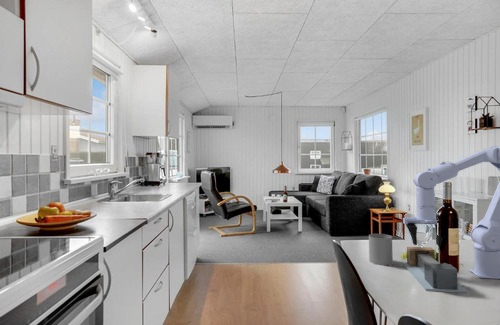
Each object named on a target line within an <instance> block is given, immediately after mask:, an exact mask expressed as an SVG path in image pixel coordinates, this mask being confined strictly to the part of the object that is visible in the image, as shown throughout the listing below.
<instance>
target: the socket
mask: <svg viewBox="0 0 500 325" xmlns="http://www.w3.org/2000/svg"><path fill="white" fill-rule="evenodd" d="M415 252H426V253H427V254H428V255H430V256H431V257H432V258H433V259H435V260H436V257H435V255H436V254H435V249H434V248H433V247H427V246H422V247H421V246H406V263H407V264H408V265H409V266H415Z"/></svg>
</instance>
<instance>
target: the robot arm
mask: <svg viewBox="0 0 500 325" xmlns="http://www.w3.org/2000/svg"><path fill="white" fill-rule="evenodd" d="M481 163H490V164H491V165H492V166H494V167H495V168H496V169H497V170H498V171H499V172H500V145H494V146H493V145H492V146H490V147H489V148H484V149H481V150H478V151H476V152H474V153H472V154H470V155H468V156H466V157H464V158H461V159H459V160H457V161H454V162H451V161H446V162H445V161H441V162H439V164H438V165H436V166H434V167H431V168H430V167H429V168H426V169H425V170H426V171H420V172H418V173H417V174H416V175H415V176H414V178H413V183H414V185H415V188H416V190H415V191H416V192H415V194H416V195H415V196H416V197H415V198H416V199H415V200H416V203H415V204H416V217H415V216H414V217H403V218H402V223H403V224H404V225H406V228H407V229H408V233H409V234H410V236H411V241H412V244H413V245H414V246H417V245H418V240H417V239H418V238H417V237H418V236H417V233H418V232H417V231H418V226H416V225H434V228H435V245H437V246H439V247H440V246H442V241H443V238H442V237H441V235H440V234H439V236H438V235H437V221H438V220H436V218H437V217H436V199H435V198H436V197H435V196H436V193H435V188H436V186H437V185H439V184H441V183H443V182H446V181H448V180H451V179H453V178H456V177H457V176H458V175H459V172H461V171H462V170H463V171H464V170H466V169H468V168H471V167H474V166H475V165H479V164H481ZM498 182H499V183H498V184H497V187H496V188H495V189H496V190H495V192H494V194H493V196H492V198H491V201H490V203H489V205H488V208H487V210H486V212H485V214H484V217H483V218H482V219H481V220H479V221H478V222H477V225H476V226H474V227H473V228H472V229H471V231H470V238H471V241H472V242H474V245H473V266H474V268H469V272H471V273H473V275H475V276H477V277H478V278H479V279H498V280H499V279H500V181H498Z"/></svg>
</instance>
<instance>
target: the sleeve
mask: <svg viewBox="0 0 500 325" xmlns="http://www.w3.org/2000/svg"><path fill="white" fill-rule="evenodd" d="M424 276H425V280H426V281H427V282H428V283H429V284H430V285H431V286H432V287H433V288H434V289H452V290H458V284H459V283H458V269H457V268H456V267H455V266H453V265H452V264H450V263H449V264H448V263H446V262H443V263H440V264H433V263H428V262H424Z"/></svg>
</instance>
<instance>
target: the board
mask: <svg viewBox="0 0 500 325" xmlns="http://www.w3.org/2000/svg"><path fill="white" fill-rule="evenodd" d="M402 265H403V266H404V267H405V268H406V270H408V272H409V273H410V274H411V276H412V277H413V278H414V279H415V280H416V281H417V283H419V284H420V286H421V287H422V288H423V290H425V291H426V292H427V291H428V292H444V293H445V292H446V293H460V294H461V293H463V294H467V293H468V290H466V289H465V288H464V286H462V285H461V284H460V283H458V290H452V289H434V288H433V287H432V286H431V285H430V284H429V283H428V282H427V281H426V280H425V276H424V272H423V271H422V270H421V269H420V268H419V267H418V266H417V265H415V266H409V265H408V264H407V262H403V264H402Z"/></svg>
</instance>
